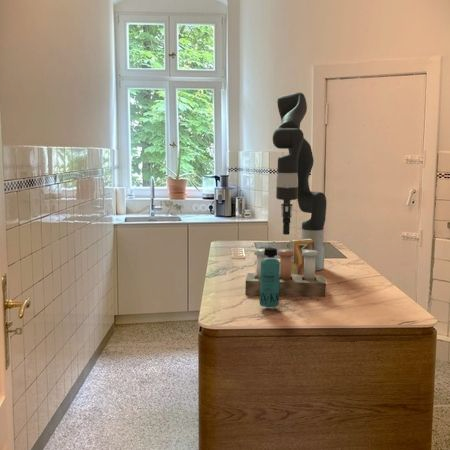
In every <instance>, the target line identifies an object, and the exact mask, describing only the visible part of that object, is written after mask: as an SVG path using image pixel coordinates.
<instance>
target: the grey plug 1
mask: <svg viewBox="0 0 450 450" xmlns="http://www.w3.org/2000/svg"><path fill="white" fill-rule="evenodd" d="M264 251H265V249H260V248H256V249H254V255H255V256H256V272H255V273H256V279H260V273H261V261H262V260H263V259H264V258H268V256H266V255H264Z"/></svg>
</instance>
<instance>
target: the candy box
mask: <svg viewBox="0 0 450 450" xmlns="http://www.w3.org/2000/svg"><path fill="white" fill-rule="evenodd" d="M289 242H290V243H289V244H290V245H289V246H290V247H289V248H290V249H289V250H293V251H294V256H292V257H291V274H296V275H304V256H302V251H303V250H314V240H312V239H302V238H301V239H290V241H289Z"/></svg>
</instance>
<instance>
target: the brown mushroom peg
mask: <svg viewBox="0 0 450 450" xmlns="http://www.w3.org/2000/svg"><path fill="white" fill-rule="evenodd" d="M277 255H278V256H280V257H279V262H280V280H291V257H292V256H294V251H293V250H290V249H287V248H286V249H284V248H283V249H277Z"/></svg>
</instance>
